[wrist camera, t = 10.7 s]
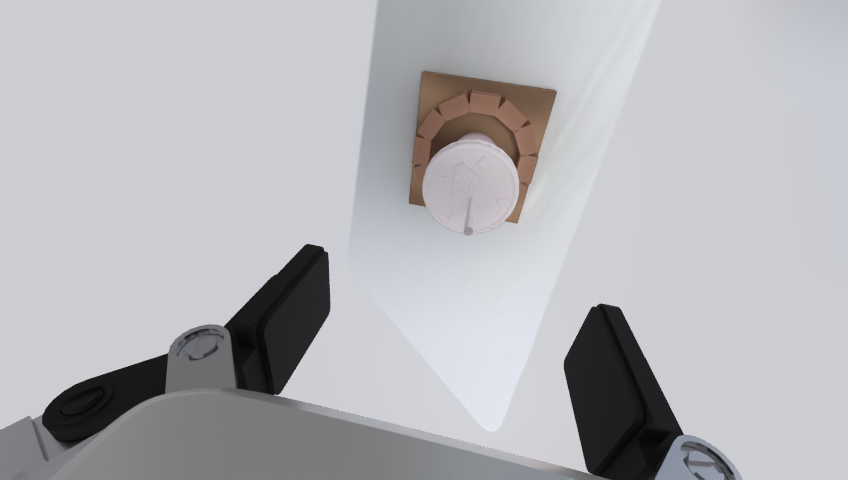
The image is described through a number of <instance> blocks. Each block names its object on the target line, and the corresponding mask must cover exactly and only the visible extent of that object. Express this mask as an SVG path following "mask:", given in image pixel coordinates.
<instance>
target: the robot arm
mask: <svg viewBox="0 0 848 480" xmlns="http://www.w3.org/2000/svg"><path fill="white" fill-rule="evenodd" d="M329 285H330V284H329V259H328V253H327V252H325V251H324V248H323V247H320V246H316V245H311V244H306V245H305V246H304V247H303V248H302V249H301V250H300V251H299V252H298V253H297V254H296V255H295V256H294V257H293V258H292V259H291V260H290V262H289V263H287V264H286V266H285V267H284V268H283V269H282V270H281V271H280V272H279V273H278V274H277V275H274V276H273V277H271V278H270V280H268V281H267V283H265V285H264V286H263V287H262V288H261V289H260V290H259V291H258V292H257V293H256V294H255V295H254V296H253V297H252V298H251V299H250V300H249V301H248V302H247V303H246V304H245V305H244V306H243V307H242V309H240V310H239V311H238V312H237V313H236V314H235V315H234V317H233V318H231V320H230V321H229V322H228V323H227V324H226V325H225V326H224V327H222V326H219V325H204V326H199V327H196V328H193V329H190V330H188V331H187V332H185V333H183V334H182V335H180V336H179V337H178V338H177V339H175V341H174V342H173V344H172V345H171V346H170V349H169V352H168V354H165V355H162V356H159V357H156V358H153V359H149V360H146V361H143V362H140V363H137V364H134V365H131V366H128V367H125V368H122V369H119V370H116V371H112V372H110V373H106V374H103V375H100V376H97V377H94V378H91V379H88V380H85V381H83V382H80V383H78V384H75V385H74V386H72V387H70V388H69V389H67V390H65V391H64V392H62V393H61V394H60V395H59V396H57V397H56V398H55V399H54V400H53V401H52V402H51V403H50V404H49V405H48V407H47V408H46V409H45V412H44V414H43V415H41V416H39V417H37V418H35V419H32V418H31V417H30V416H28V417H26V418H24V419H22V420H20V421H18V422H16V423H14V424H12V425H10V426H8V427H6V428H4V429H2V430H0V480H742V478H741V476H740V474H739V472H738V471H737V469H736V468H735V466H734V465H733V464H732V463H731V462H730V460H729V459H728V458H727V457H726V456H725V455H724V454H723V453H721V452H720V451H719V450H718V449H717V448H715V447H714V446H712V445H711V444H709V443H707V442H706V441H704V440H702V439H700V438H697V437H694V436H689V435H684V434H683V432H682V430H681V428H680V426H679V424H678V422H677V420H676V418H675V416H674V414H673V412H672V410H671V408H670V406H669V404H668V402H667V400H666V398H665V396H664V394H663V392H662V391H661V388H660V386H659V384H658V382H657V380H656V378H655V376H654V374H653V372H652V370H651V368H650V366H649V364H648V362H647V360H646V358H645V357H644V355H643V353H642V351H641V349H640V347H639V345H638V343H637V341H636V339H635V337H634V335H633V333H632V331H631V329H630V327H629V325H628V323H627V321H626V319H625V317H624V315H623V313H622V311H621V309H620V308H619V307H615V306H611V305H606V304H599V305H597V307H592V308H591V309H590V311H589V313H588V315H587V317H586V319H585V321H584V323H583V325H582V327H581V329H580V331H579V333H578V335H577V336H576V339H575V341H574V342H573V345H572V346H571V348H570V350H569V352H568V354H567V356H566V358H565V360H564V371H565V375H566V380H567V385H568V389H569V393H570V398H571V402H572V407H573V411H574V415H575V419H576V424H577V428H578V432H579V437H580V441H581V446H582V451H583V455H584V459H585V464H586V467H587V470H588V472H589V473H591V474H593V475H591V474H588V473H584V472H580V471H577V470H573V469H569V468H566V467H562V466H558V465H554V464H550V463H546V462H543V461H539V460H535V459H531V458H527V457H523V456H519V455H515V454H511V453H507V452H503V451H500V450H496V449H492V448H488V447H484V446H480V445H476V444H472V443H468V442H464V441H460V440H456V439H452V438H448V437H443V436H440V435H436V434H432V433H428V432H424V431H420V430H416V429H412V428H408V427H404V426H400V425H396V424H392V423H388V422H384V421H380V420H376V419H372V418H368V417H364V416H359V415H355V414H351V413H347V412H343V411H339V410H335V409H331V408H327V407H322V406H319V405H314V404H310V403H306V402H301V401H297V400H292V399H288V398H284V397H279V396H275V395H274V394H276V395H278V394H280V393H281V391H282V390H283V388H284V386H285V385H286V383H287V382H288V380H289V379H290V377H291V375H292V374H293V372H294V370H295V369H296V367H297V365H298V364H299V362H300V361H301V359H302V357H303V356H304V354H305V352H306V351H307V349H308V347H309V346H310V344H311V343H312V341H313V340H314V338H315V336H316V335H317V333H318V331H319V330H320V328H321V327H322V325H323V323H324V322H325V320H326V318H327V317H328V315H329V312H330V286H329Z"/></svg>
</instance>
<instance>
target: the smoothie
mask: <svg viewBox="0 0 848 480" xmlns="http://www.w3.org/2000/svg"><path fill="white" fill-rule="evenodd" d="M422 193H423V199H424V202H425V205H426V207H427V209H428V211H429V212H430V214H431V215H432V217H433V218H434V219H435V220H436V221H437V222H439V223H440V224H441V225H443V226H444V227H446V228H448V229H450V230H452V231H455V232H459V233H464V234H465V235H472V234H477V233H482V232H486V231H489V230H491V229H494V228H495V227H497V226H499V225H500V224H501V223H503V222H504V221H505V220H506V219H507V218H508V217H509V216H510V214H511V213H512V211H513V210H514V208H515V206H516V203H517V200H518V195H519V178H518V173H517V169H516V167H515V165H514V163H513V161H512V159H511V158H510V157H509V156H508V155H507V154H506V153H505V152H504V151H503V150H502V149H500V148H499V147H497V146H496V144H495V143H494V141H493V140H492V139H491V137H490V136H488V135H487V134H485V133H483V132H478V131H475V132H470V133H467V134H465V135H464V136H462V137H461V138H460V139H459V140H458V141H457V142H453V143H451V144H449V145H447V146H446V147H444V148H442V149H441V150H440V151H439V152H438V153H437V154H436V155H435V156H434V157H433V158H432V159H431V161H430V163H429V165H428V167H427V168H426V172H425V175H424V179H423V185H422Z"/></svg>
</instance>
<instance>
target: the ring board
mask: <svg viewBox="0 0 848 480" xmlns="http://www.w3.org/2000/svg"><path fill="white" fill-rule="evenodd" d="M556 94H557V91H555V90H550V89H543V88H536V87H530V86H523V85H516V84H509V83H502V82H496V81H489V80H482V79H475V78H468V77H461V76H455V75H448V74H441V73H434V72H427V71H424V72H422V81H421V90H420V100H419V109H418V119H417V129H416V136H415V142H414V152H413V162H412V163H413V167H412V177H411V187H410V196H409V203H410V204H415V205H420V206H426V205H425V202H424V199H423V193H422V185H423V179H424V175H425V172H426V168H427V167H428V165H429V163H430V161H431V159H432V158H433V157H434V156H435V155H436V154H437V153H438V152H439V151H440V150H441V149H442V148H444V147H446V146H447V145H449V144H451V143H453V142H457V141H458V140H459V139H460V138H461V137H462V136H464V135H465V134H467V133H470V132H475V131H478V132H483V133H485V134H487V135H488V136H490V137H491V139H492V140H493V141H494V143H495V144H496V146H497V147H499V148H500V149H502V150H503V151H504V152H505V153H506V154H507V155H508V156H509V157H510V158H511V159H512V161H513V163H514V165H515V167H516V169H517V173H518V178H519V195H518V200H517V203H516V206H515V208H514V210H513V211H512V213H511V214H510V216H509V217H508V218H507V219H506V220H505V221H507V222H512V223H518V219H519V216H520V213H521V210H522V206H523V203H524V200H525V196H526V193H527V190H528V186H529V184H530V183H531V180H532V177H533V173H534V170H535V167H536V163H537V160H538V153H539V150H540V147H541V143H542V140H543V137H544V133H545V130H546V127H547V123H548V120H549V117H550V113H551V110H552V107H553V103H554V100H555V97H556Z"/></svg>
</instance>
